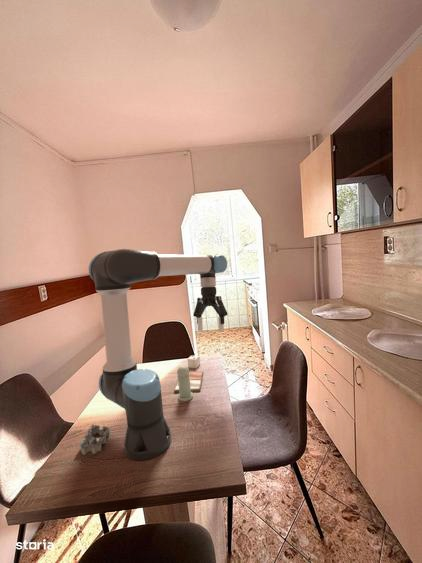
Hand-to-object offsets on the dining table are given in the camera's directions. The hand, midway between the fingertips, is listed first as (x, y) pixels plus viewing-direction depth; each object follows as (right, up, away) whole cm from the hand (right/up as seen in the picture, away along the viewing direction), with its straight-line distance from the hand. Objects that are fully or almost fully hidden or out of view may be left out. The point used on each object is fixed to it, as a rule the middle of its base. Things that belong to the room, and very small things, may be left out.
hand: (210, 331), depth 125 cm
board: (-10, -25, +2) cm, 27 cm away
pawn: (-11, -27, -11) cm, 31 cm away
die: (-9, -24, +21) cm, 33 cm away
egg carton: (-39, -32, -36) cm, 62 cm away
